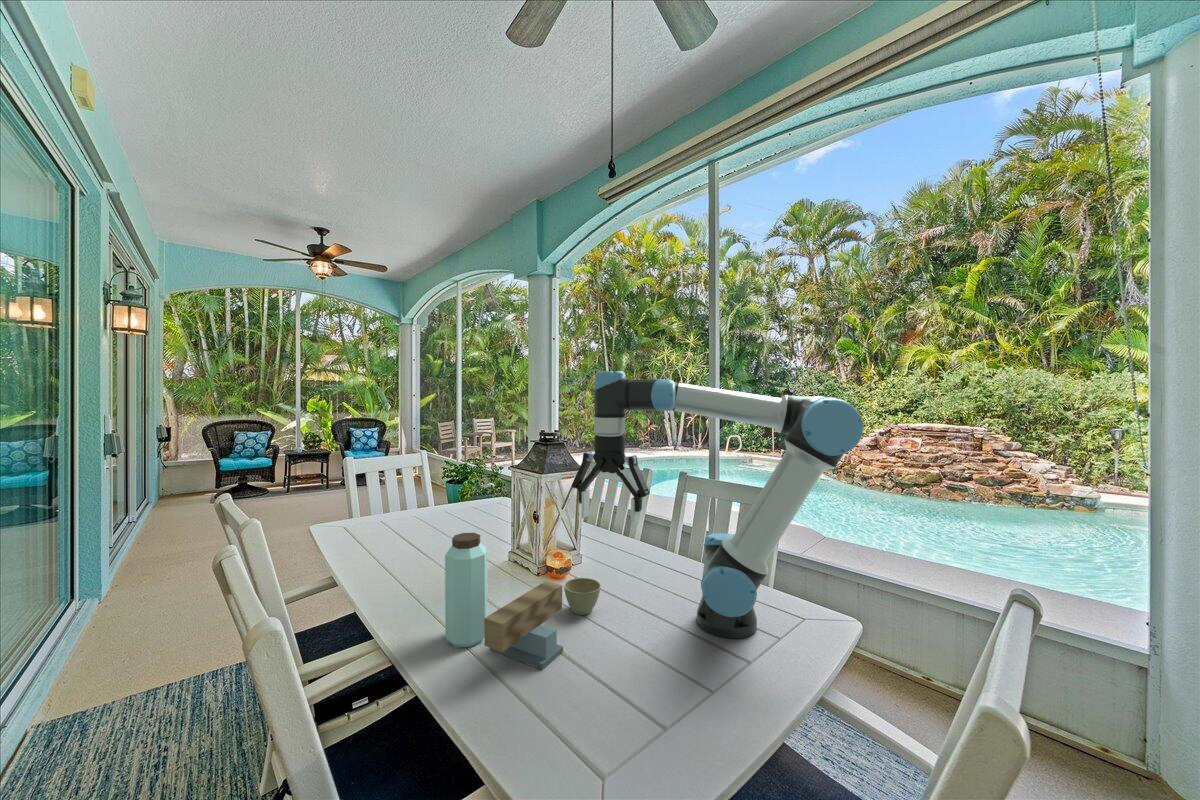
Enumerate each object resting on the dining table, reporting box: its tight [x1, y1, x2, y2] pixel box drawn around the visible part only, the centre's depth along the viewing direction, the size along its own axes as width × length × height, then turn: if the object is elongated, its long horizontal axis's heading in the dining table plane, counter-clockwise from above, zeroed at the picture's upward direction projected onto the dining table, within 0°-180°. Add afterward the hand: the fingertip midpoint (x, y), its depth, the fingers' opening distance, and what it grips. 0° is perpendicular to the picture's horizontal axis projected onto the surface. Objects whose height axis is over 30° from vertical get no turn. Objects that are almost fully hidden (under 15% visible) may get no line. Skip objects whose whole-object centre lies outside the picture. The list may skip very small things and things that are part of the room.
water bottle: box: [444, 532, 488, 648], centre depth 115 cm, size 10×10×25 cm
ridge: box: [489, 624, 564, 671], centre depth 110 cm, size 15×8×6 cm, turn 61°
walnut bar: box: [484, 580, 563, 652], centre depth 109 cm, size 22×5×6 cm, turn 150°
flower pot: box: [563, 577, 601, 616], centre depth 129 cm, size 10×10×7 cm
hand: (609, 520), depth 116 cm, fingers open, 13 cm apart
